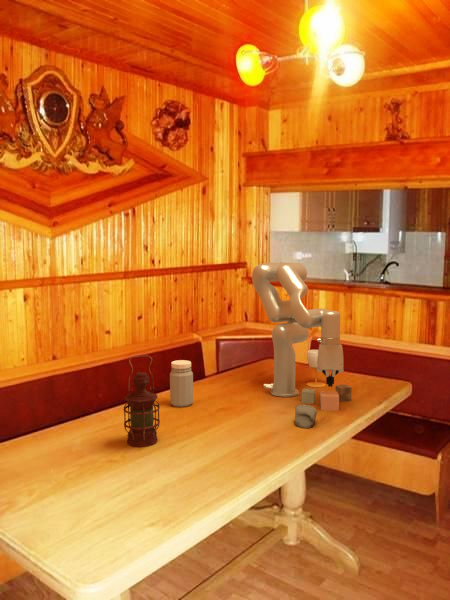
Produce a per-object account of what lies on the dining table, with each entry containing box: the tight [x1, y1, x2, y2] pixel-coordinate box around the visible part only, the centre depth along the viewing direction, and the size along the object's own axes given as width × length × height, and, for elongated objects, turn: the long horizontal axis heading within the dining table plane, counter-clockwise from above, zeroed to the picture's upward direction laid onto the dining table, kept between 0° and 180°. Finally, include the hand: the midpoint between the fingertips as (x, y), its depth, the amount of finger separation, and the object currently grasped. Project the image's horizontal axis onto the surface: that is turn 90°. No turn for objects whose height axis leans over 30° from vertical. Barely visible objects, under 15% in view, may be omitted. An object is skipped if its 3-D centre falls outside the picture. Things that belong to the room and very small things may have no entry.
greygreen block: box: [301, 388, 316, 405], centre depth 238 cm, size 5×5×5 cm
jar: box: [169, 359, 194, 408], centre depth 235 cm, size 10×10×18 cm
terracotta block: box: [319, 390, 340, 412], centre depth 229 cm, size 7×7×6 cm
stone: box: [294, 404, 318, 430], centre depth 211 cm, size 9×9×10 cm
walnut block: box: [335, 384, 352, 403], centre depth 241 cm, size 5×5×6 cm
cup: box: [306, 349, 327, 388], centre depth 265 cm, size 9×9×16 cm
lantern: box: [123, 354, 161, 448], centre depth 191 cm, size 12×12×30 cm
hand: (330, 385), depth 229 cm, fingers closed
